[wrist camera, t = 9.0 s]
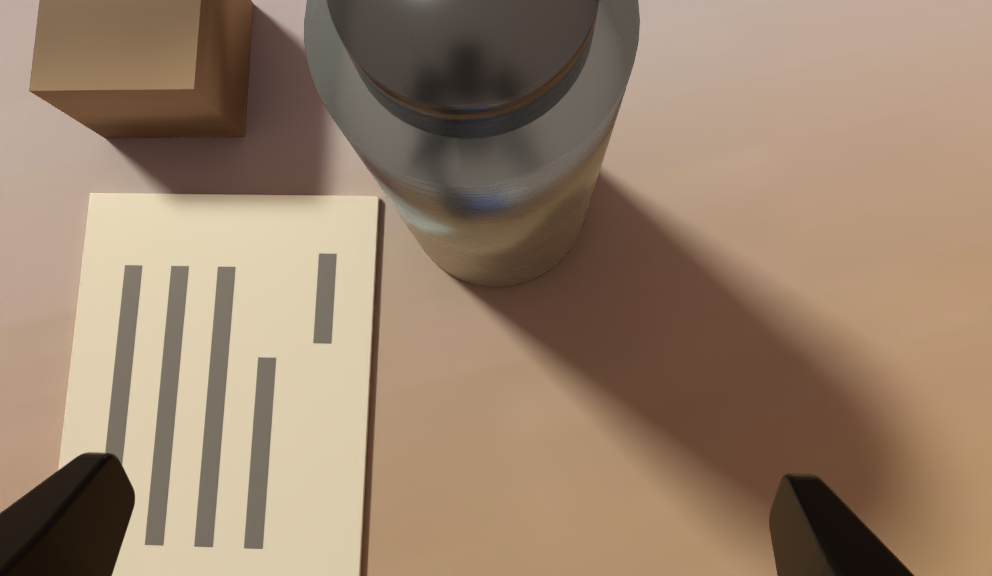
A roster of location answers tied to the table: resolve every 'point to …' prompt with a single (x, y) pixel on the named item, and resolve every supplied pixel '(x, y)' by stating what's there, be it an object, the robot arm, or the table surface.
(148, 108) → the walnut block
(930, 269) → the table surface
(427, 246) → the bottle
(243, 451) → the letter
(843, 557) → the robot arm
